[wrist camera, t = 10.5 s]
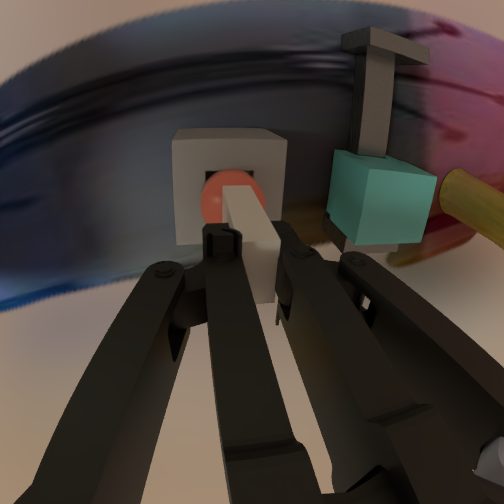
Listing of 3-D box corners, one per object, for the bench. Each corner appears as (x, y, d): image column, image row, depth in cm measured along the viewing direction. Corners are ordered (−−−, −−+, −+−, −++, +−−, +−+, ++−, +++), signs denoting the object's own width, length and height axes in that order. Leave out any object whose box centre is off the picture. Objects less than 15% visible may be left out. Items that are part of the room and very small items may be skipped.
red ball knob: (200, 205, 22) (201, 237, 17) (200, 157, 20) (200, 176, 15) (249, 204, 22) (263, 234, 18) (251, 156, 20) (267, 175, 16)
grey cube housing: (181, 207, 26) (176, 245, 20) (179, 128, 22) (171, 140, 16) (262, 205, 27) (282, 240, 21) (267, 128, 23) (292, 140, 17)
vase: (445, 222, 32) (523, 284, 20) (432, 187, 29) (525, 247, 17) (472, 194, 31) (551, 246, 18) (461, 158, 28) (553, 205, 15)
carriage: (381, 211, 29) (420, 242, 23) (321, 210, 28) (354, 245, 22) (391, 156, 26) (437, 177, 20) (329, 148, 25) (369, 168, 19)
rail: (372, 228, 30) (396, 251, 26) (322, 229, 29) (343, 254, 25) (395, 50, 21) (429, 48, 17) (341, 34, 20) (370, 26, 16)
